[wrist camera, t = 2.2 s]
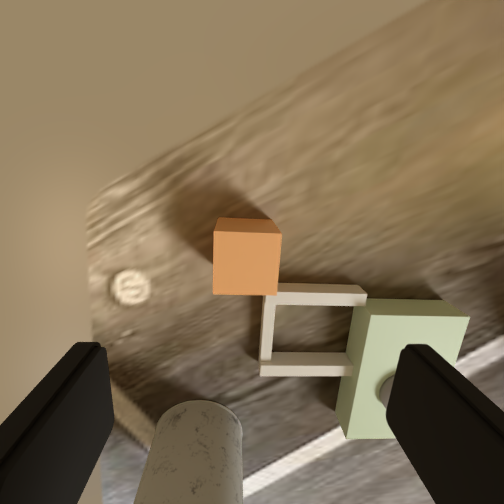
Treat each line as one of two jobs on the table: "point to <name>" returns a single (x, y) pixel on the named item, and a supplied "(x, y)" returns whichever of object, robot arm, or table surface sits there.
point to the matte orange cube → (246, 256)
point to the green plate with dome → (362, 347)
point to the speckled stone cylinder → (194, 457)
